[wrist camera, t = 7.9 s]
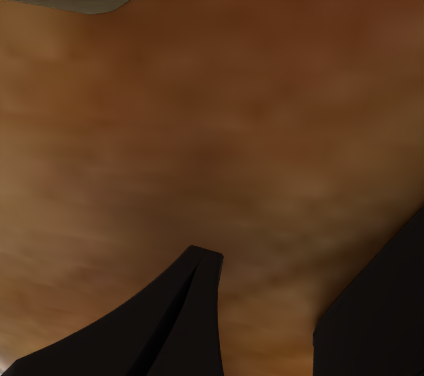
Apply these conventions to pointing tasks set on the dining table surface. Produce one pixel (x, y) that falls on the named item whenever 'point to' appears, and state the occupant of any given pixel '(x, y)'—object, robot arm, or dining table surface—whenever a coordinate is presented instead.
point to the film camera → (378, 314)
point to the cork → (79, 5)
